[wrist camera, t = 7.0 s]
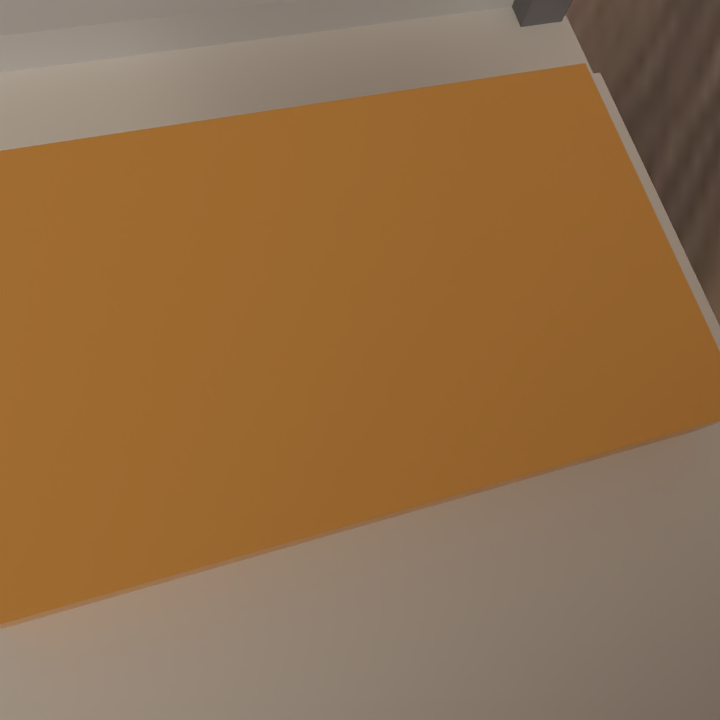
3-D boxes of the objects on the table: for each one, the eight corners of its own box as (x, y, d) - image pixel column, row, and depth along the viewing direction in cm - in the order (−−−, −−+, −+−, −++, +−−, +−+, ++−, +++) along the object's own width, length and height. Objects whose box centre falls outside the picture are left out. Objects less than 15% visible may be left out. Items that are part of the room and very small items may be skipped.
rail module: (221, 785, 12) (-125, 1982, 2) (159, 467, 13) (-195, 130, 3) (473, 696, 13) (1192, 1128, 3) (387, 409, 14) (634, 17, 4)
